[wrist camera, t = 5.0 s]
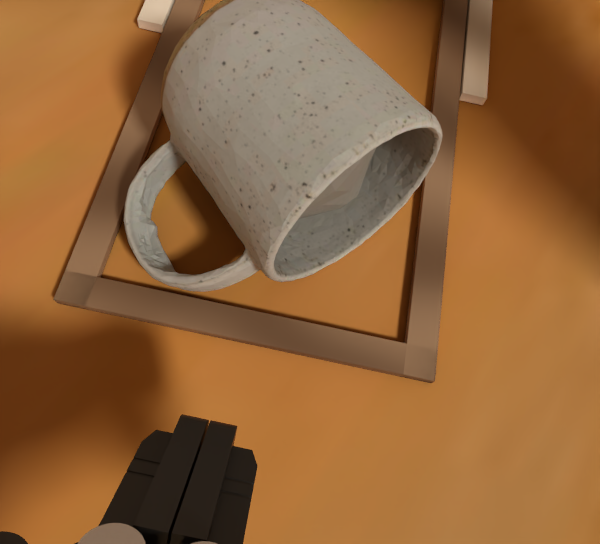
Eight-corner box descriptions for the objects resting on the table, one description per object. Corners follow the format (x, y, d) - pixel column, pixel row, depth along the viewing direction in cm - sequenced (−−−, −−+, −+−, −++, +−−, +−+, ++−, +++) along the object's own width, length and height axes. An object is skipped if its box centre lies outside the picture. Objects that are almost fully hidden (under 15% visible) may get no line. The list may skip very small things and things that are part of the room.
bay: (464, 390, 20) (500, 374, 17) (22, 295, 19) (-15, 264, 16) (490, -20, 29) (516, -74, 26) (190, -90, 28) (184, -152, 26)
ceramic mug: (295, 87, 24) (314, -75, 17) (410, 213, 22) (484, 89, 15) (93, 198, 21) (12, 58, 14) (204, 356, 19) (175, 285, 12)
